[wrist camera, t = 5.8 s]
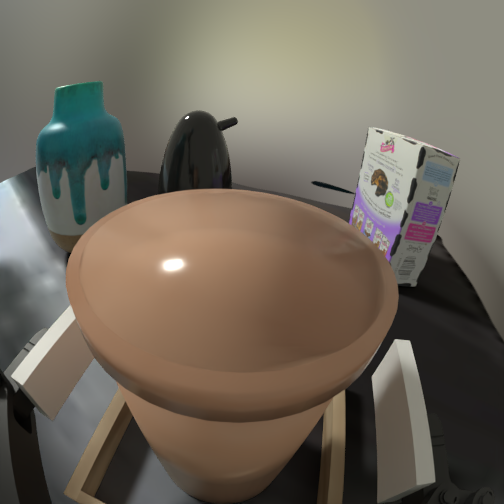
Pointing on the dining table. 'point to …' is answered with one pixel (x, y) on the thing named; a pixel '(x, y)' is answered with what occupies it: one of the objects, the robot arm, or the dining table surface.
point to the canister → (229, 326)
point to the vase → (80, 163)
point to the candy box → (402, 199)
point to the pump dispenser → (196, 155)
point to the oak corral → (118, 420)
